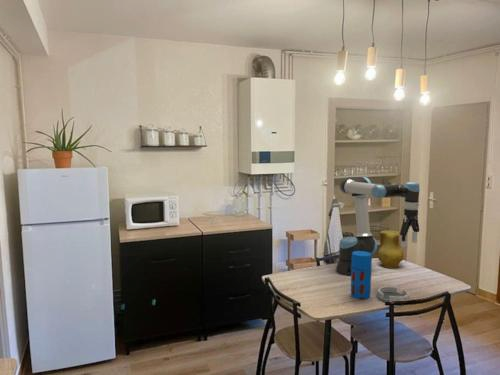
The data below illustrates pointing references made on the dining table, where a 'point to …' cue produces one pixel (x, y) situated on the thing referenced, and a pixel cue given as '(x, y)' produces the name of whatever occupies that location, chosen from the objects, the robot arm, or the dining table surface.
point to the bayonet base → (391, 294)
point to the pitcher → (390, 249)
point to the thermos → (361, 275)
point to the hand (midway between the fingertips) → (409, 244)
